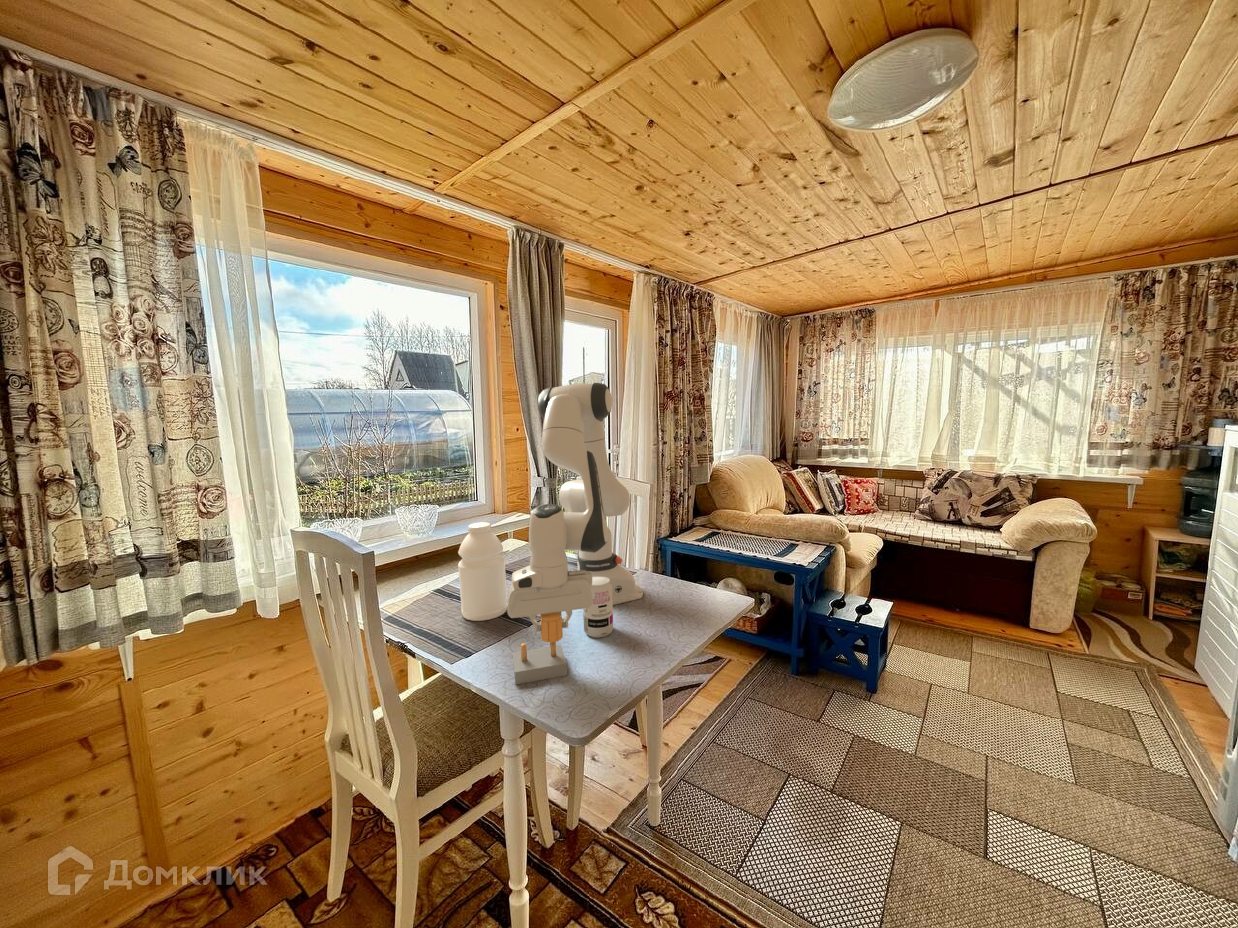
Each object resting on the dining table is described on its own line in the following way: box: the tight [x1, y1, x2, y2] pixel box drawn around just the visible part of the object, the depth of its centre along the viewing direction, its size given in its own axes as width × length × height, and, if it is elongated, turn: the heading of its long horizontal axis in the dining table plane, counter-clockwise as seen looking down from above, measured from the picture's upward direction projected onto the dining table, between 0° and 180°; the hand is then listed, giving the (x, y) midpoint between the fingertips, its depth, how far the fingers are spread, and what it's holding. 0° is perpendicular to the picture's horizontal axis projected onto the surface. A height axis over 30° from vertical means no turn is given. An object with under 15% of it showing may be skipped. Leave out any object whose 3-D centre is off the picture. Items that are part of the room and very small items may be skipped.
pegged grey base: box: [512, 642, 568, 685], centre depth 112 cm, size 12×9×7 cm
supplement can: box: [582, 576, 614, 639], centre depth 129 cm, size 8×8×15 cm
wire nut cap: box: [539, 612, 563, 644], centre depth 111 cm, size 5×5×6 cm
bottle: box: [457, 521, 508, 622], centre depth 143 cm, size 14×14×28 cm
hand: (551, 628), depth 112 cm, fingers closed on wire nut cap, 5 cm apart
